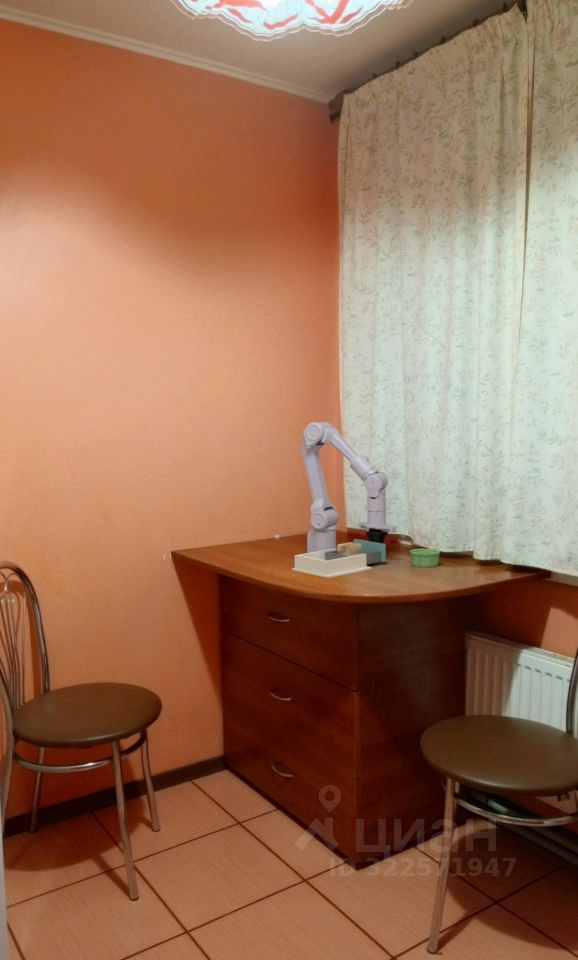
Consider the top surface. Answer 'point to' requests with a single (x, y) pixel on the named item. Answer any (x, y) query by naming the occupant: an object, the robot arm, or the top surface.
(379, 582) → the top surface
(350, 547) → the block
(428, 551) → the ramekin
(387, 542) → the onion
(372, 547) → the tray
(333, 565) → the housing
